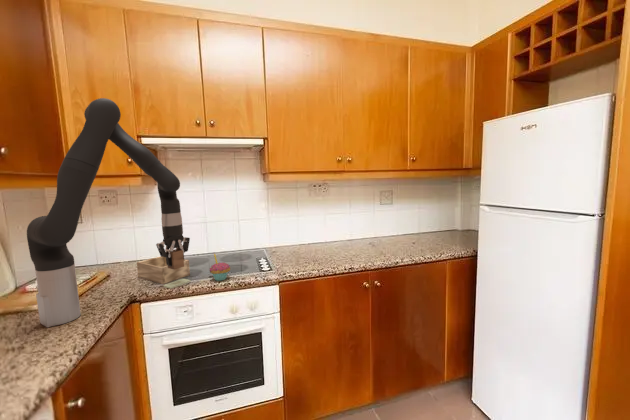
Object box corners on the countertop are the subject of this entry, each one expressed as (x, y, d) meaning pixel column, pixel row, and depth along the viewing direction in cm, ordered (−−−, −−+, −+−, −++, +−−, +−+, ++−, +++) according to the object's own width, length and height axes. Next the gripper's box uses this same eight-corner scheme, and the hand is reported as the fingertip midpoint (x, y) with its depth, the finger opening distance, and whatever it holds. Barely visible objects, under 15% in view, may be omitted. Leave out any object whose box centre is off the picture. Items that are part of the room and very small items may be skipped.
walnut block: (167, 268, 121) (166, 251, 120) (177, 265, 124) (176, 249, 124) (174, 269, 118) (172, 252, 118) (184, 266, 122) (182, 250, 121)
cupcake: (209, 283, 122) (207, 255, 121) (210, 276, 130) (209, 250, 129) (230, 280, 124) (229, 253, 123) (230, 274, 132) (229, 248, 131)
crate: (162, 284, 122) (161, 268, 122) (138, 277, 132) (136, 262, 131) (190, 275, 133) (188, 260, 133) (165, 269, 143) (164, 255, 142)
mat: (170, 288, 117) (170, 287, 117) (163, 286, 120) (163, 285, 119) (190, 281, 125) (190, 280, 125) (183, 279, 127) (183, 278, 127)
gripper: (182, 220, 127) (185, 258, 129) (149, 226, 115) (153, 268, 117) (193, 221, 123) (196, 260, 125) (160, 227, 111) (164, 270, 113)
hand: (175, 264), depth 121 cm, fingers closed on walnut block, 4 cm apart
